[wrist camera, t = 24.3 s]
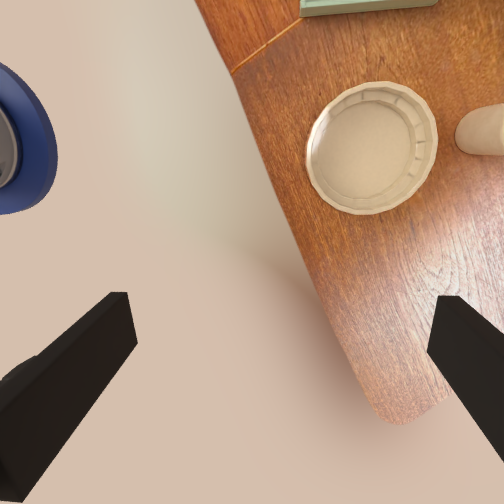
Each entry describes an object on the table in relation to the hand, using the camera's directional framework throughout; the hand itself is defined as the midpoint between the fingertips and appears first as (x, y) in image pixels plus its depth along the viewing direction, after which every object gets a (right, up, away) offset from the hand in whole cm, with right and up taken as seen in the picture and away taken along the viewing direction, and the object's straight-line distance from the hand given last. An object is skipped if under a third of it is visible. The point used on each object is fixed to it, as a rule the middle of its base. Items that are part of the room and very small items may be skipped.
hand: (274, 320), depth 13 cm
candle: (+28, +18, +24) cm, 41 cm away
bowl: (+14, +16, +26) cm, 34 cm away
